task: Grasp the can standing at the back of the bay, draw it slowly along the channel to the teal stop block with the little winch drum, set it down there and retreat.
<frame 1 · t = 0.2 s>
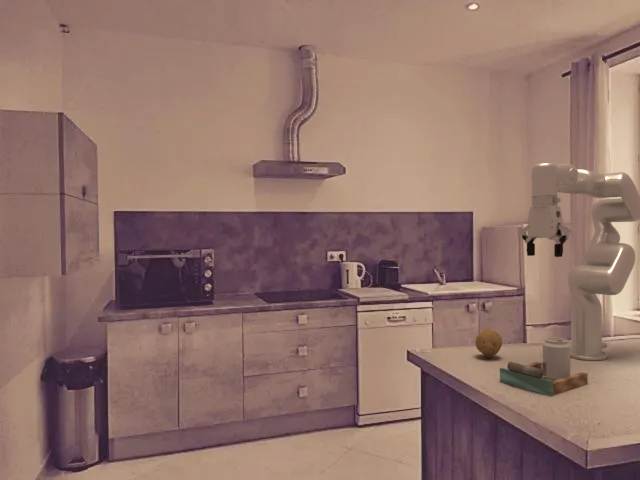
hand: (544, 256, 167), 36 cm above the counter, tool pointing down, fingers open, 9 cm apart
bay: (544, 382, 153), on the counter
can: (556, 379, 156), on the counter
natural sponge: (488, 358, 182), on the counter
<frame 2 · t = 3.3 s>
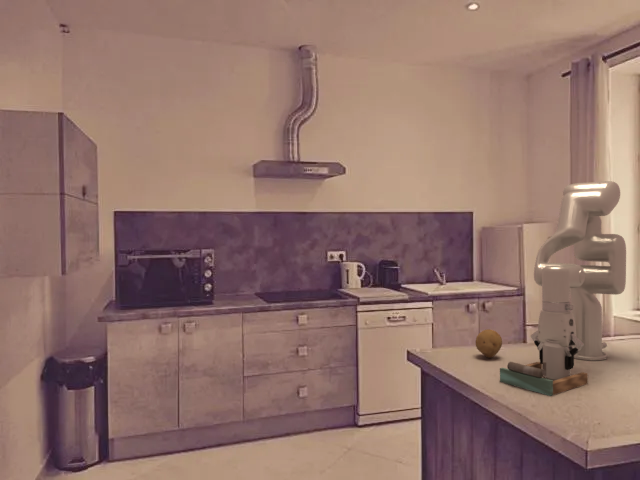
hand: (556, 365, 156), 4 cm above the counter, tool pointing down, fingers closed on can, 7 cm apart
can: (556, 379, 156), on the counter, touching gripper
everything else where it was.
when the fingers open (5 cm above the counter, at t = 7.4 s): can stays where it is, on the counter.
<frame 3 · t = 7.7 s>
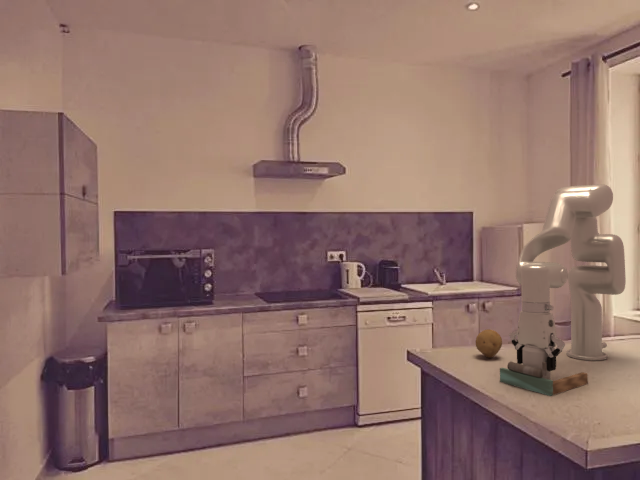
hand: (536, 366, 151), 5 cm above the counter, tool pointing down, fingers open, 9 cm apart
can: (536, 385, 151), on the counter
everything else where it was.
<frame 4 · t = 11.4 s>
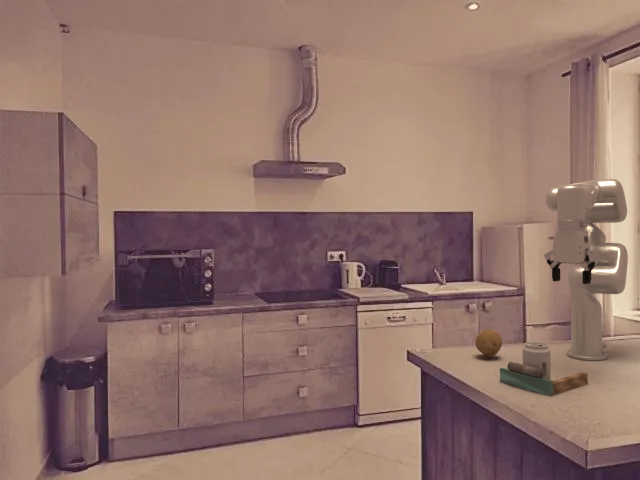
hand: (571, 282, 160), 28 cm above the counter, tool pointing down, fingers open, 9 cm apart
nothing on the counter moved.
at the end: can inside the target area on the bay (1.3 cm from its centre), point 0.0 cm above the bay's base; can tilted 0°; the gripper is holding nothing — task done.
